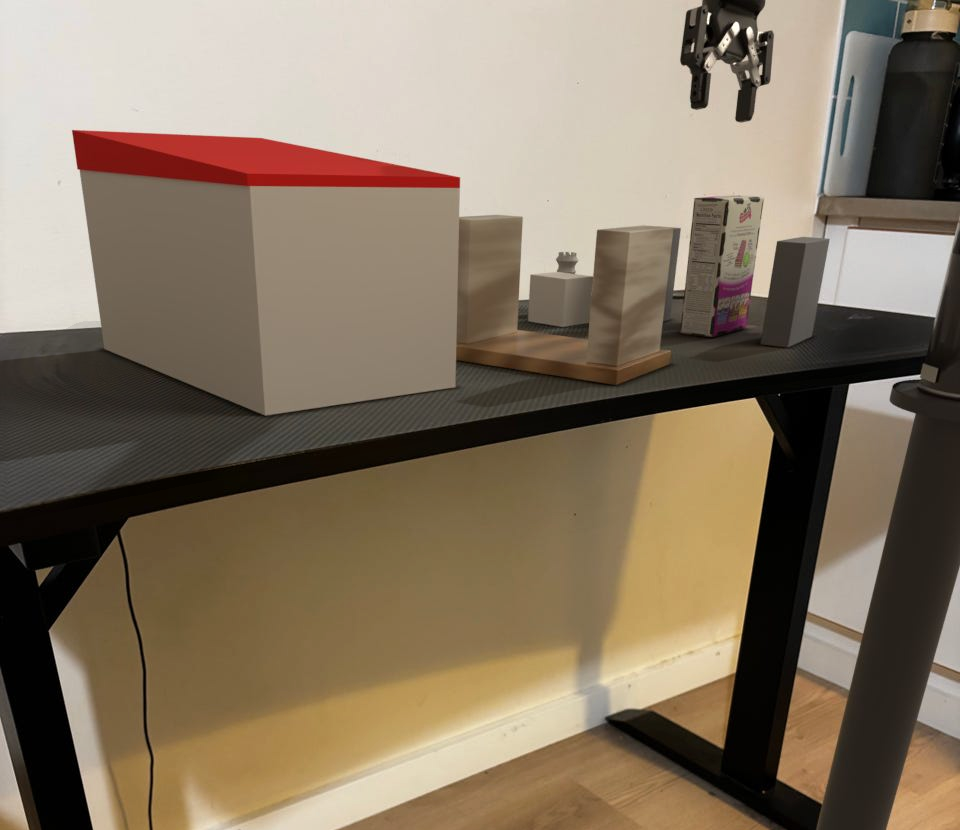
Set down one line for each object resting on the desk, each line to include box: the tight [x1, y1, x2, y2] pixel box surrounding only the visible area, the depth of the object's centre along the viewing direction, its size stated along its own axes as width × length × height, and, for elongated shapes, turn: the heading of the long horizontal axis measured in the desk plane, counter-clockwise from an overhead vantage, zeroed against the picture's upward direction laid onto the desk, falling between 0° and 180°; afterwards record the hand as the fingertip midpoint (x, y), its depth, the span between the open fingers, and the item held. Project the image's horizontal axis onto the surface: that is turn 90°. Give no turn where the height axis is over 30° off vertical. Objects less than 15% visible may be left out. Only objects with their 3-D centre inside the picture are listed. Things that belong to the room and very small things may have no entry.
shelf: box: [456, 214, 674, 386], centre depth 103 cm, size 23×14×14 cm, turn 58°
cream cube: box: [527, 271, 593, 328], centre depth 130 cm, size 6×6×6 cm
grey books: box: [658, 225, 830, 349], centre depth 126 cm, size 24×11×12 cm, turn 58°
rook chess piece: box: [555, 251, 579, 274], centre depth 138 cm, size 4×4×8 cm
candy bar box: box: [679, 195, 765, 338], centre depth 125 cm, size 11×5×16 cm, turn 143°
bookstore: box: [71, 129, 461, 416], centre depth 93 cm, size 21×35×21 cm, turn 41°
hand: (721, 115), depth 120 cm, fingers open, 8 cm apart
